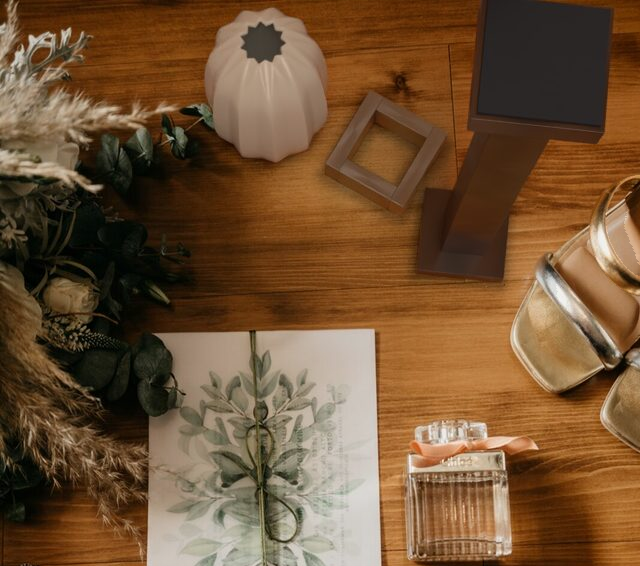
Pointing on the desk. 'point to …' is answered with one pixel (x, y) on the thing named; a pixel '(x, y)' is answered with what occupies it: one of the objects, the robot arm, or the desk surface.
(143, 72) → the desk surface
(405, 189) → the stand
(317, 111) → the vase
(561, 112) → the mat
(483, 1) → the plant stand
